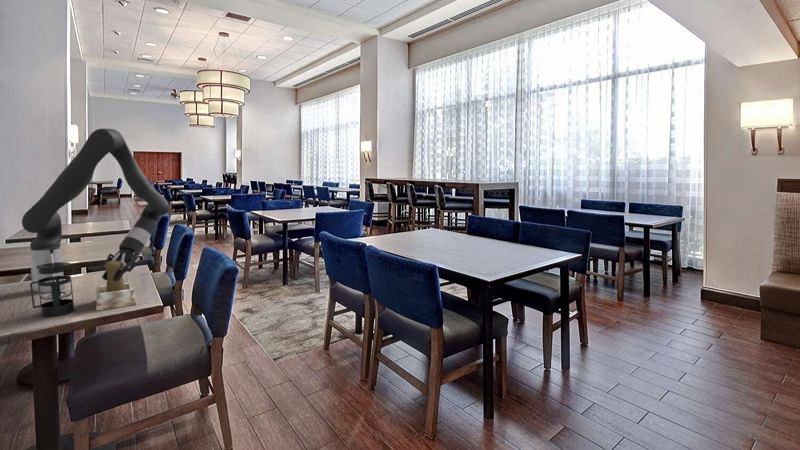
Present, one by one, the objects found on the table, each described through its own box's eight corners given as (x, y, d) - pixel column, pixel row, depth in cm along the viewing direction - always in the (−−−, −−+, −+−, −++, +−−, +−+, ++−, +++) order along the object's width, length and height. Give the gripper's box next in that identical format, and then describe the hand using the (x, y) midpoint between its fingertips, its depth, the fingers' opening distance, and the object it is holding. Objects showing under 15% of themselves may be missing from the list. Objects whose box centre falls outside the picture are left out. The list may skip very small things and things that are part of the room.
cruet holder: (96, 310, 149) (94, 295, 148) (97, 300, 160) (95, 286, 160) (136, 304, 156) (134, 290, 155) (134, 294, 167) (133, 281, 166)
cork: (115, 292, 154) (112, 263, 152) (102, 291, 155) (98, 262, 154) (129, 288, 160) (126, 259, 158) (116, 287, 161) (113, 259, 159)
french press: (77, 305, 154) (71, 243, 151) (77, 313, 147) (70, 248, 143) (35, 312, 147) (27, 247, 144) (32, 320, 140) (24, 252, 136)
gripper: (114, 235, 164) (87, 273, 154) (143, 236, 160) (117, 276, 150) (127, 245, 169) (102, 283, 160) (156, 247, 166) (132, 286, 156)
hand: (109, 279), depth 155 cm, fingers closed on cork, 4 cm apart
